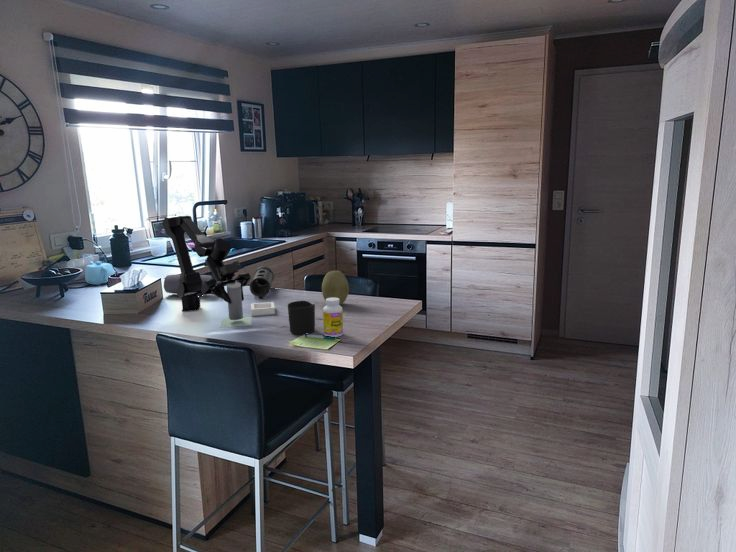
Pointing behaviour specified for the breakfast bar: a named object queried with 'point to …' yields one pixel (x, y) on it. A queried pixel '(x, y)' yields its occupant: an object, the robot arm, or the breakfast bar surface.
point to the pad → (236, 322)
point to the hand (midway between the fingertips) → (236, 301)
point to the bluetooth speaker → (173, 283)
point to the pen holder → (301, 317)
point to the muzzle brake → (262, 281)
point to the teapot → (98, 272)
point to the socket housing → (262, 308)
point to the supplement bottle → (333, 318)
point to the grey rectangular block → (235, 301)
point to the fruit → (335, 286)
